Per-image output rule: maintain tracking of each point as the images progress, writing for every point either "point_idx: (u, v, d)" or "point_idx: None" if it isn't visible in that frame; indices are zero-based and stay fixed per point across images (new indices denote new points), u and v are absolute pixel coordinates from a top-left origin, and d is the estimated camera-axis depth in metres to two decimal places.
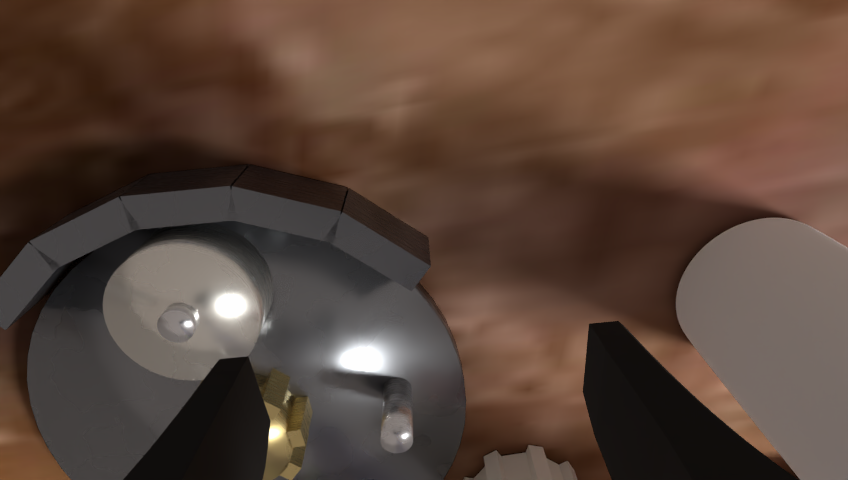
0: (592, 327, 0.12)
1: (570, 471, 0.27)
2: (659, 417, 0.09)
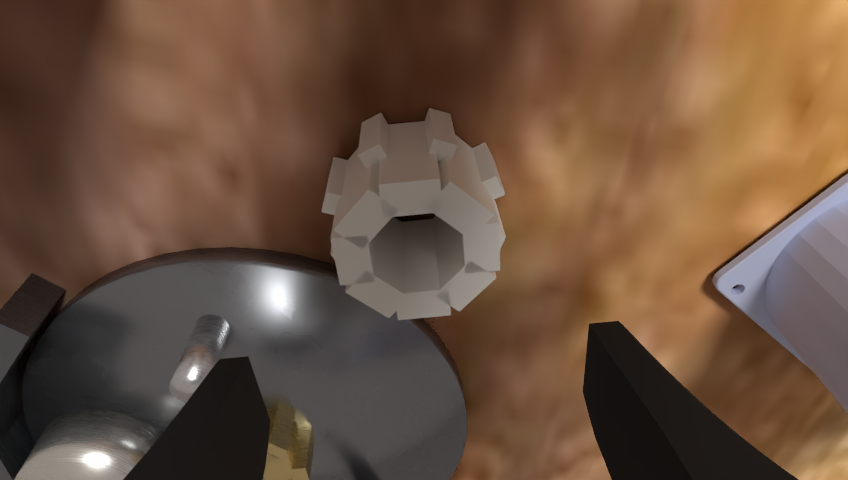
0: (592, 327, 0.12)
1: (361, 131, 0.18)
2: (659, 417, 0.09)
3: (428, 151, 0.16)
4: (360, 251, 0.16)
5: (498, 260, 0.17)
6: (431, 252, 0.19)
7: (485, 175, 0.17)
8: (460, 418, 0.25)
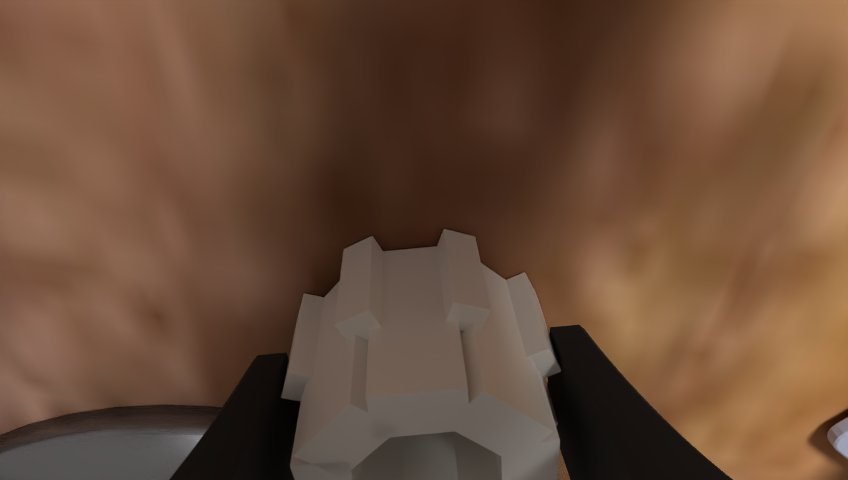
0: (552, 331, 0.12)
1: (343, 267, 0.12)
2: (608, 422, 0.09)
3: (445, 316, 0.11)
4: None
5: None
6: (446, 436, 0.13)
7: (531, 343, 0.11)
8: None
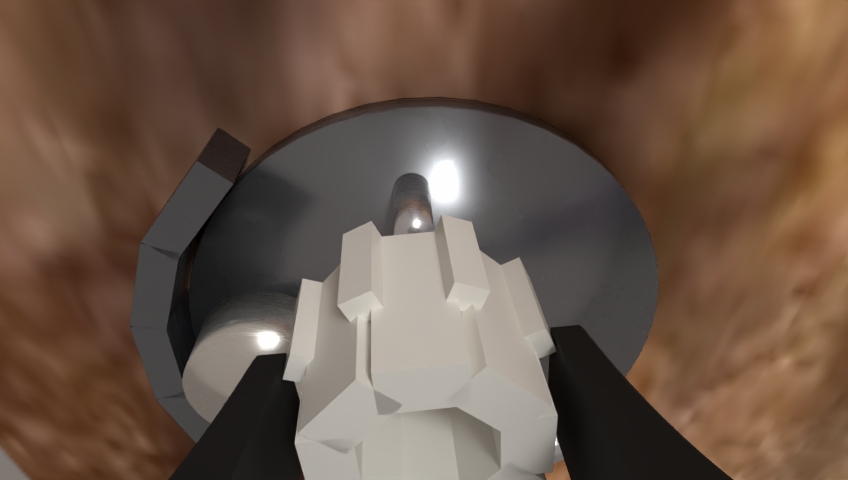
0: (553, 331, 0.12)
1: (343, 251, 0.12)
2: (608, 422, 0.09)
3: (445, 297, 0.11)
4: (341, 457, 0.10)
5: (551, 461, 0.11)
6: (443, 418, 0.13)
7: (528, 324, 0.12)
8: (649, 306, 0.23)
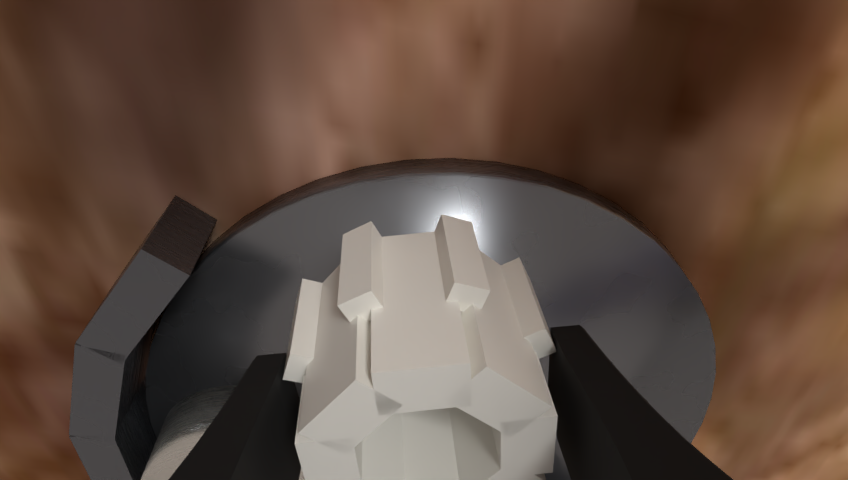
0: (552, 331, 0.12)
1: (343, 252, 0.12)
2: (608, 422, 0.09)
3: (445, 297, 0.11)
4: (341, 457, 0.10)
5: (551, 461, 0.11)
6: (443, 418, 0.13)
7: (527, 324, 0.12)
8: (702, 398, 0.19)
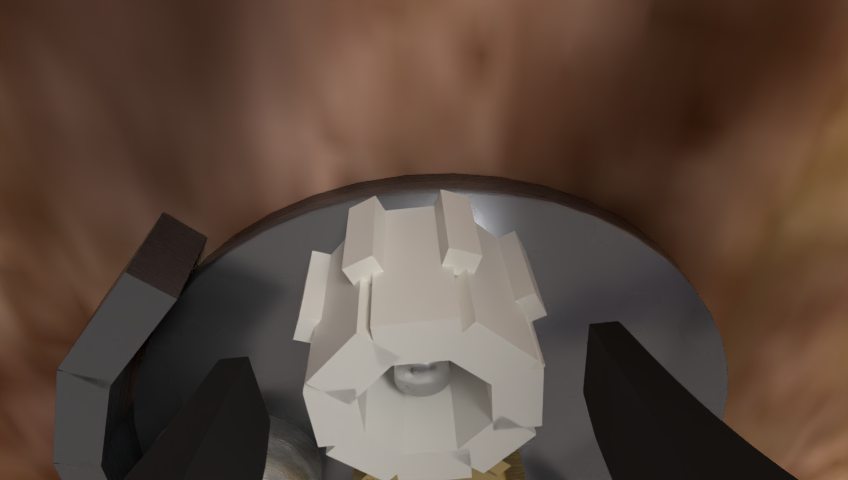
0: (592, 327, 0.12)
1: (348, 223, 0.13)
2: (659, 417, 0.09)
3: (441, 262, 0.12)
4: (345, 407, 0.11)
5: (540, 414, 0.12)
6: None
7: (519, 289, 0.12)
8: None
